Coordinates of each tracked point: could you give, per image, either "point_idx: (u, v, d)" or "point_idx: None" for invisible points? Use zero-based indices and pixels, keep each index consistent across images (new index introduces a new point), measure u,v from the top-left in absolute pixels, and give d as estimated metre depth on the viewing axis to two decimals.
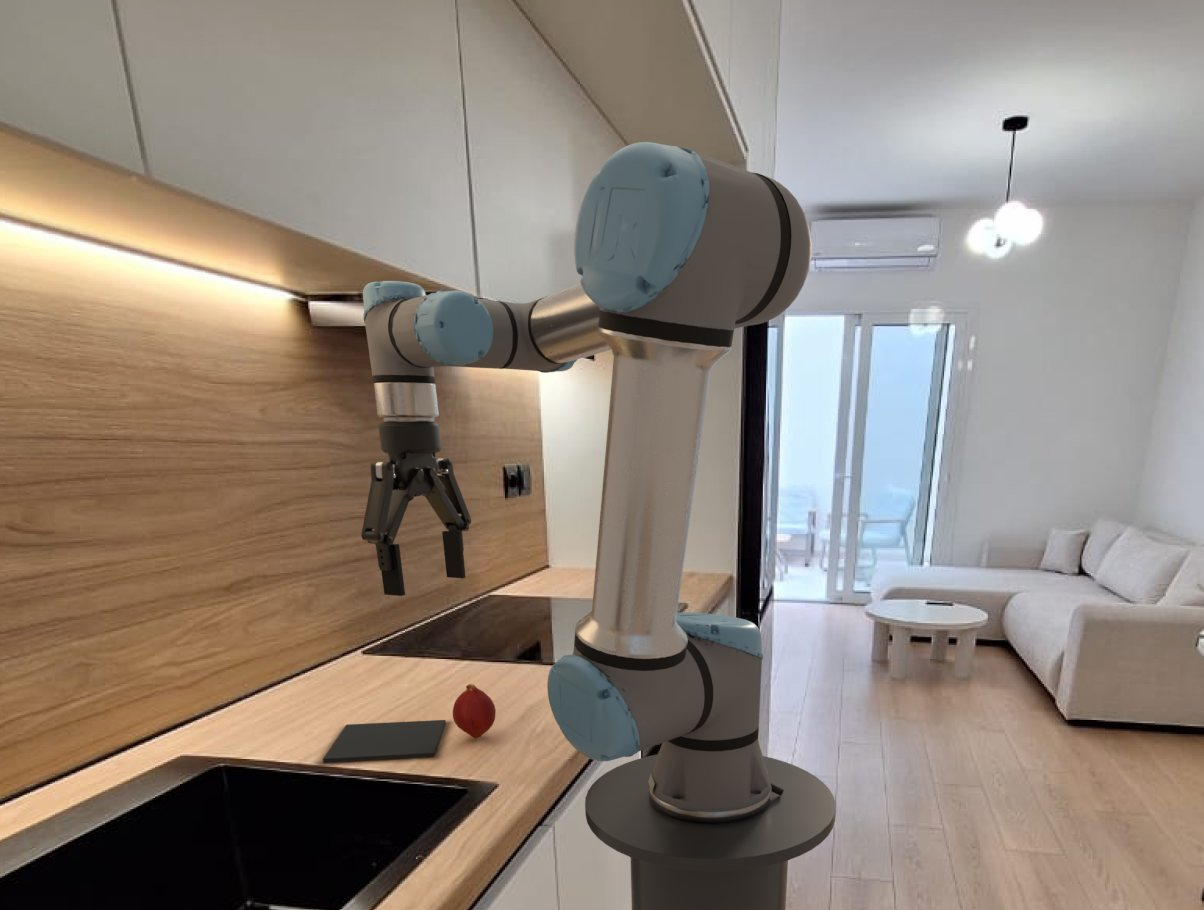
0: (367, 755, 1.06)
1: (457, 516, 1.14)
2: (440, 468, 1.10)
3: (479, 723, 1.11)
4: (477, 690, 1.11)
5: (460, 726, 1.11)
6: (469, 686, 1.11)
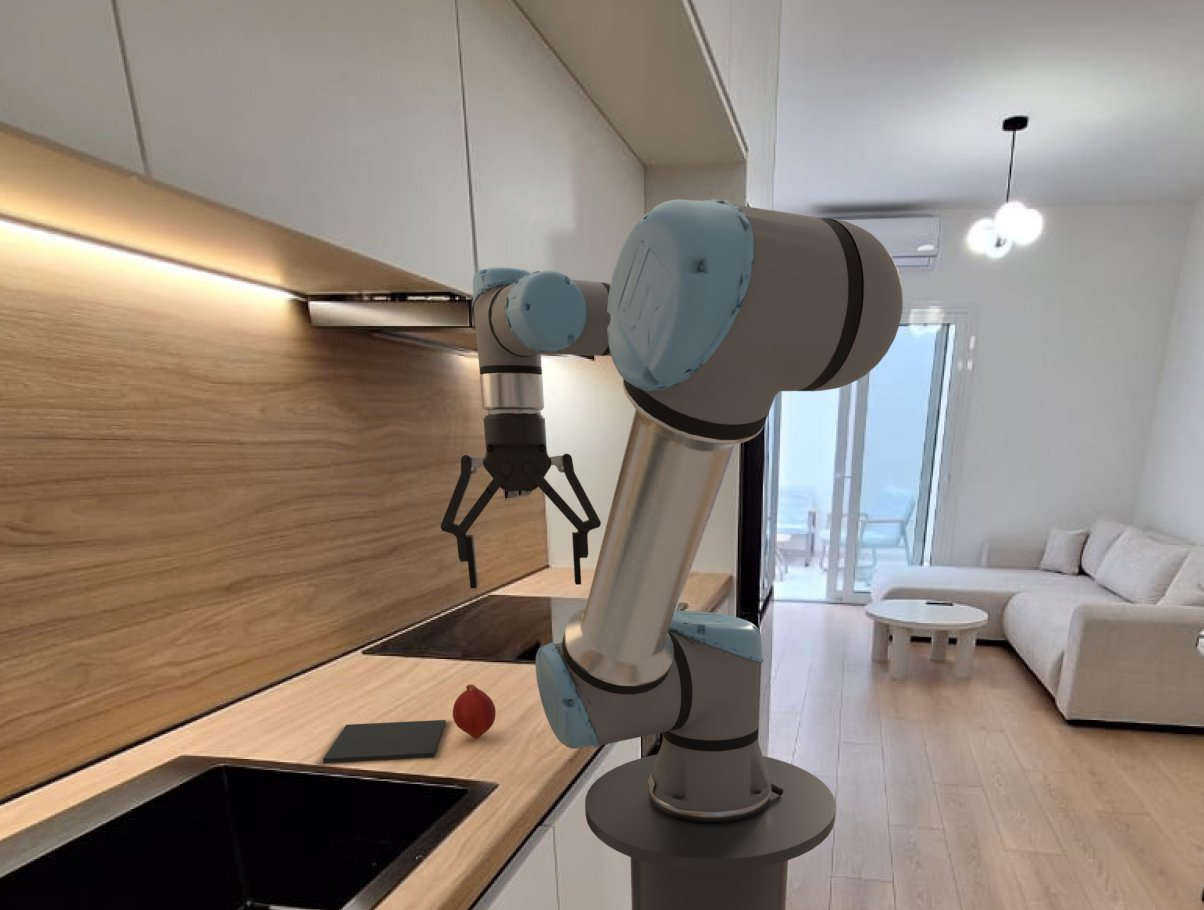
0: (367, 755, 1.06)
1: (575, 517, 1.04)
2: (558, 464, 1.03)
3: (479, 723, 1.11)
4: (477, 690, 1.11)
5: (460, 726, 1.11)
6: (469, 686, 1.11)
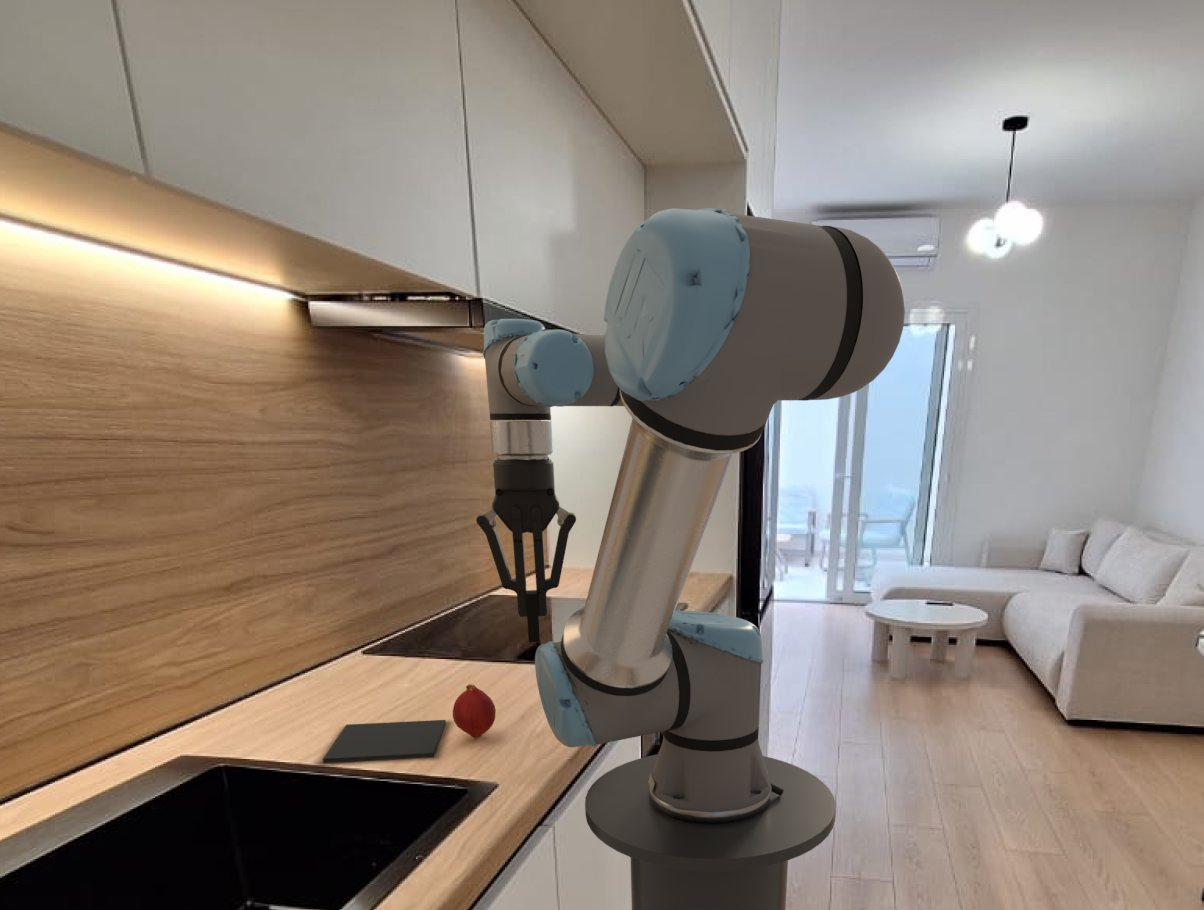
0: (367, 755, 1.06)
1: (542, 575, 1.06)
2: (561, 517, 1.05)
3: (479, 723, 1.11)
4: (477, 690, 1.11)
5: (460, 726, 1.11)
6: (469, 686, 1.11)
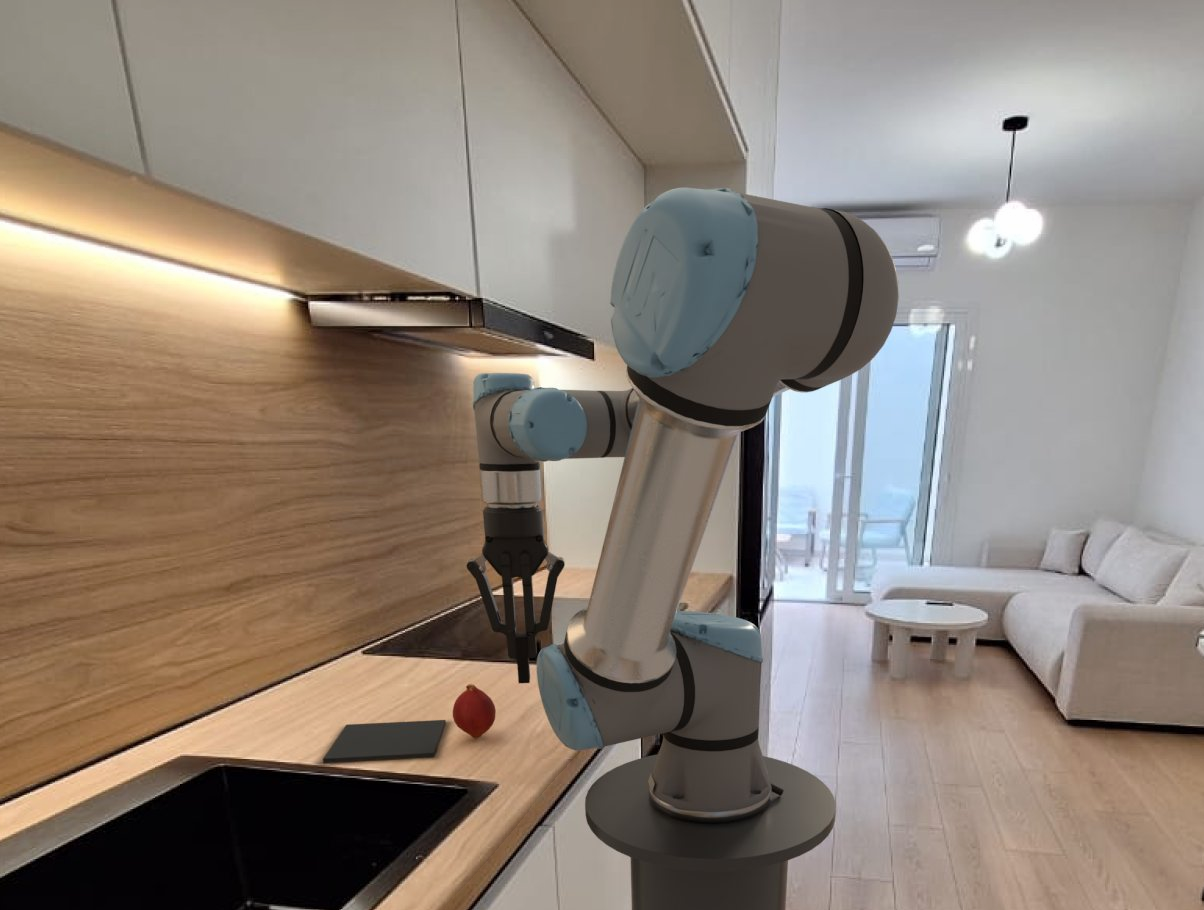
0: (367, 755, 1.06)
1: (531, 619, 1.08)
2: (549, 562, 1.07)
3: (479, 723, 1.11)
4: (477, 690, 1.11)
5: (460, 726, 1.11)
6: (469, 686, 1.11)
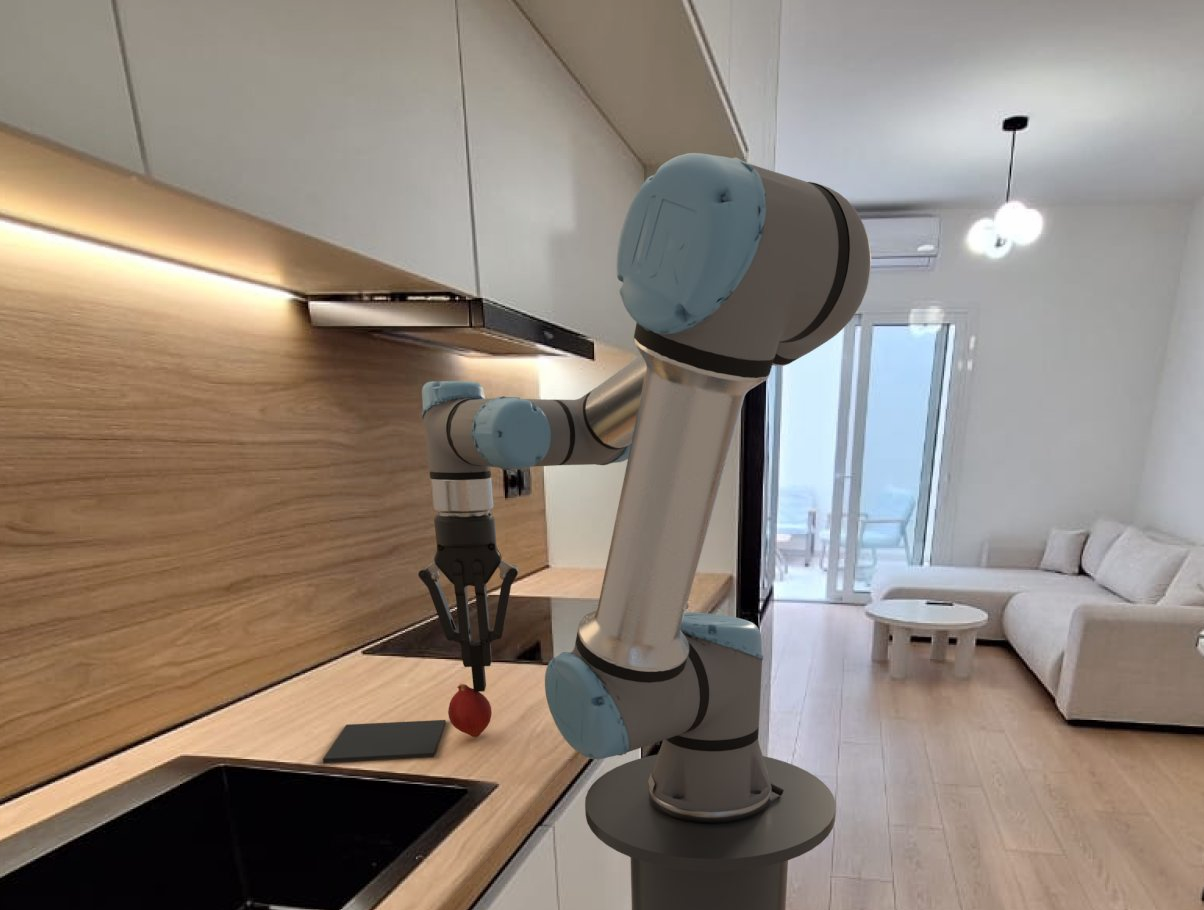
0: (367, 755, 1.06)
1: (485, 627, 1.08)
2: (503, 570, 1.06)
3: (475, 721, 1.10)
4: (469, 689, 1.11)
5: (457, 727, 1.11)
6: (460, 686, 1.11)
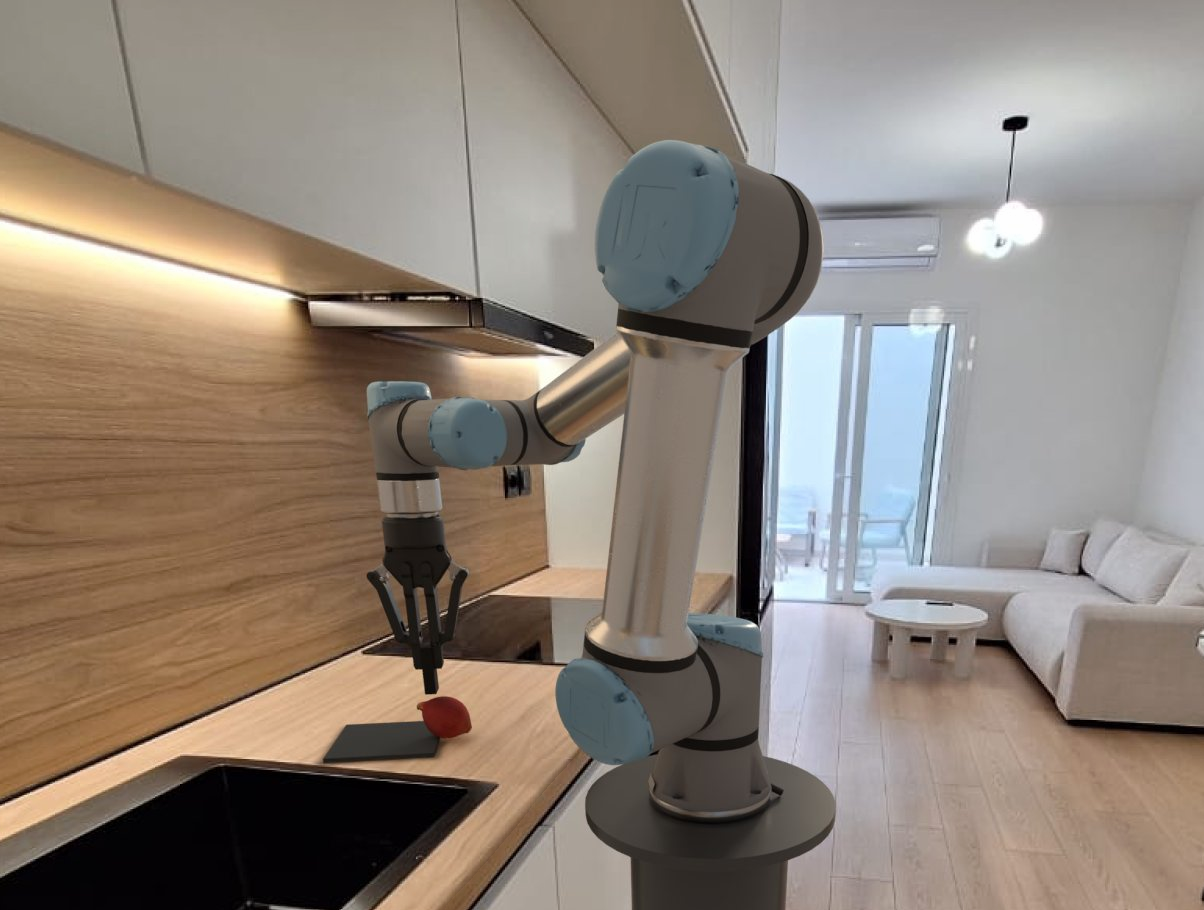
0: (367, 755, 1.06)
1: (435, 629, 1.07)
2: (452, 572, 1.05)
3: (450, 722, 1.10)
4: (426, 702, 1.11)
5: (447, 737, 1.11)
6: (418, 706, 1.11)
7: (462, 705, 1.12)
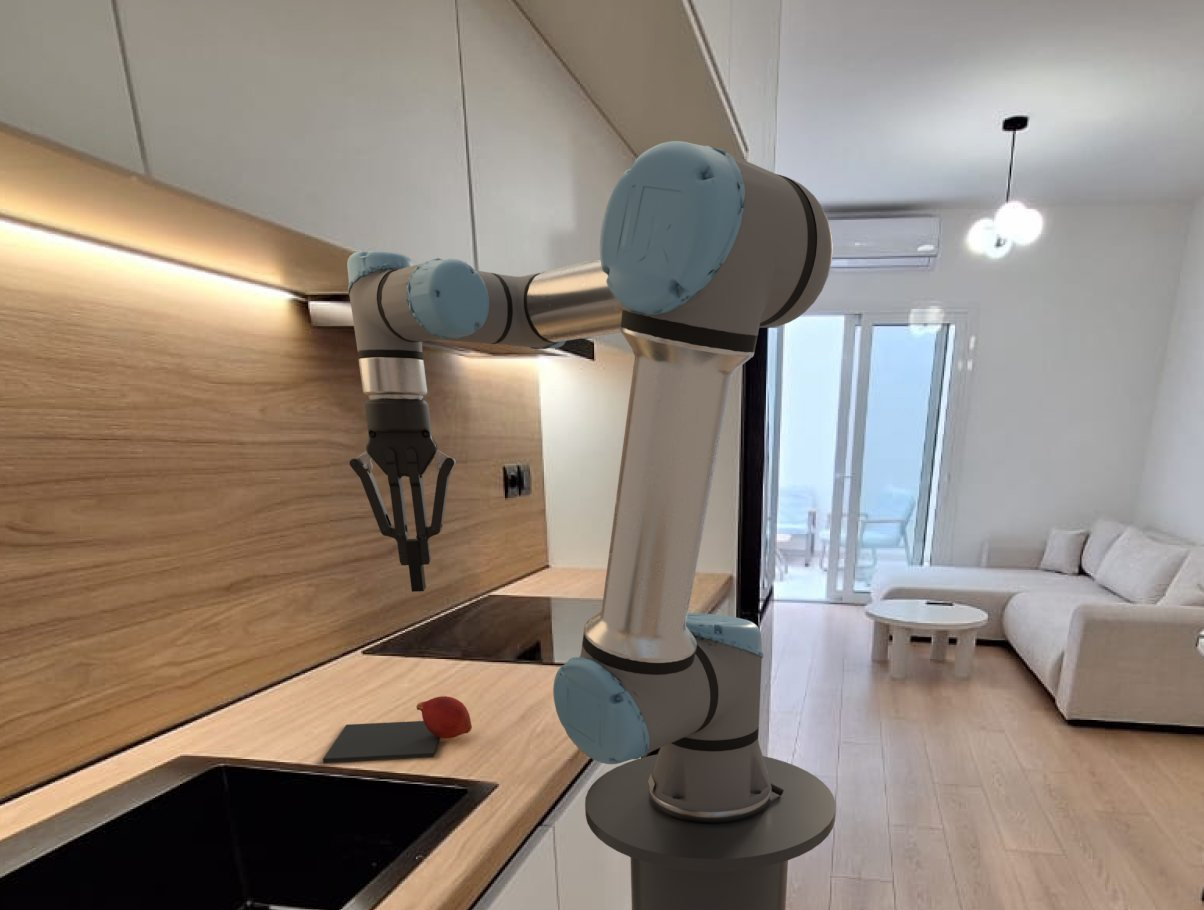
0: (367, 755, 1.06)
1: (422, 522, 1.04)
2: (439, 460, 1.02)
3: (450, 722, 1.10)
4: (426, 703, 1.11)
5: (446, 737, 1.11)
6: (418, 707, 1.11)
7: (462, 705, 1.12)
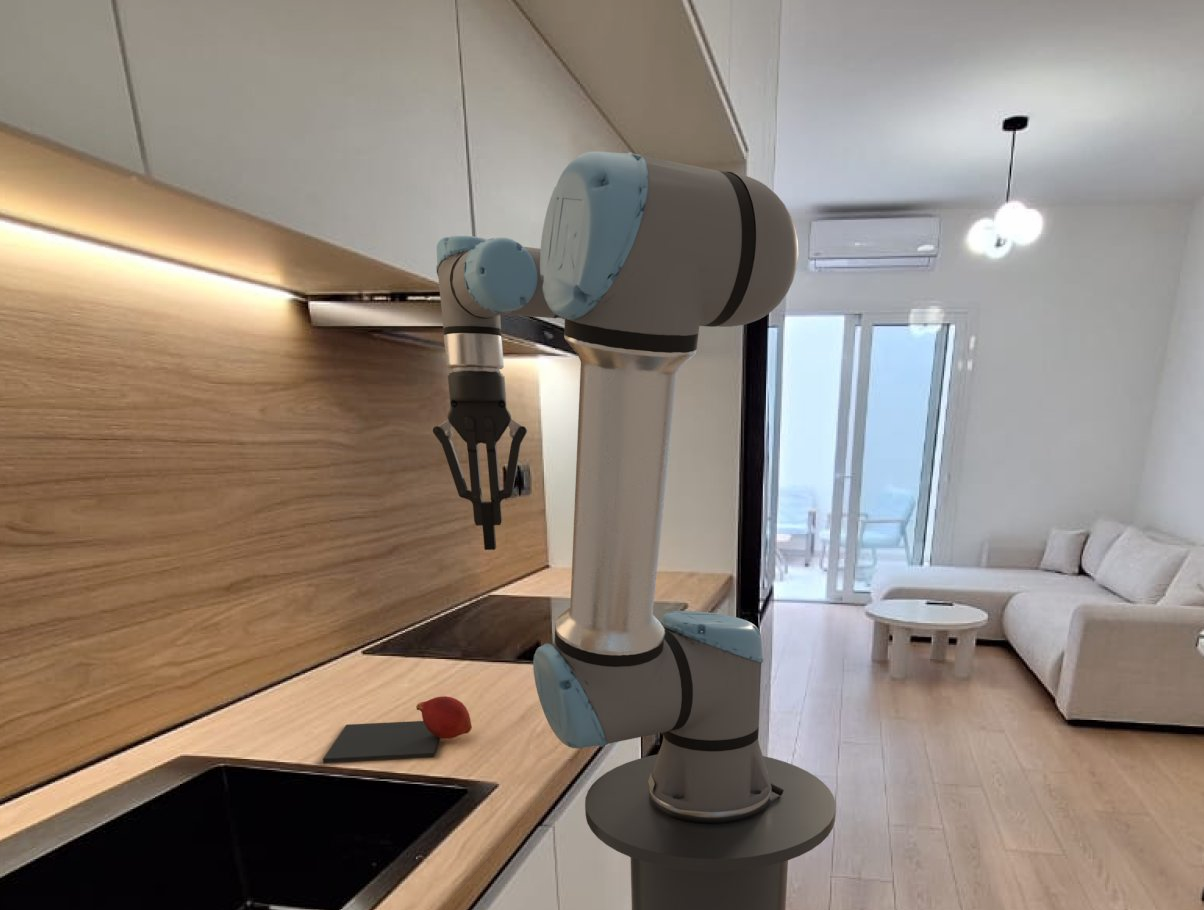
0: (367, 755, 1.06)
1: (495, 485, 1.14)
2: (512, 429, 1.12)
3: (450, 722, 1.10)
4: (426, 703, 1.11)
5: (446, 737, 1.11)
6: (417, 707, 1.11)
7: (462, 705, 1.12)
